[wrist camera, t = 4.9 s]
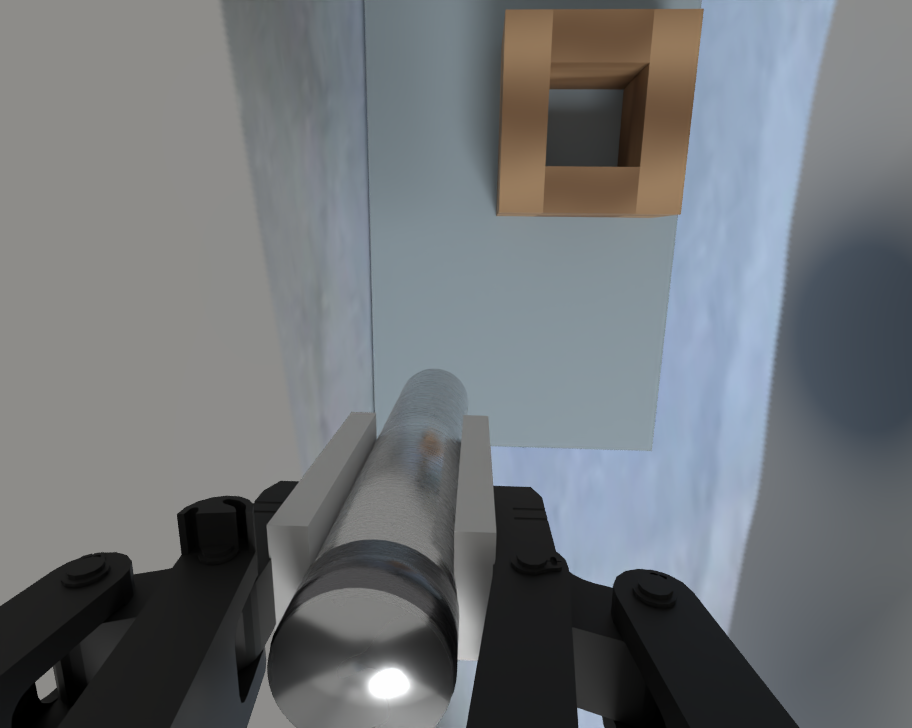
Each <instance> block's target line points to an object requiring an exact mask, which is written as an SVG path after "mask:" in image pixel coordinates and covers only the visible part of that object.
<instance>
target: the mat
mask: <svg viewBox="0 0 912 728" xmlns="http://www.w3.org/2000/svg"><path fill="white" fill-rule="evenodd" d="M364 2H365V42H366V82H367V122H368V162H369V202H370V242H371V282H372V322H373V362H374V402H375V413H376V430H377V438H378V436H379V434H380V432H381V431H382V429H383V427H384V425H385V423H386V421H387V419H388V417H389V415H390V413H391V411H392V409H393V407H394V405H395V403H396V401H397V399H398V397H399V395H400V393H401V391H402V390H403V388H404V386H405V384H406V382H407V381H408V380H409V379H410V378H411V377H412V376H413V375H415V374H416V373H418V372H420V371H422V370H426V369H442V370H445V371H448V372H450V373H452V374H453V375H455V376H456V377H457V378H458V379H459V380H460V381H461V382H462V384H463V385H464V387H465V389H466V392H467V395H468V415H479V416H488V419H489V433H490V446H502V447H535V448H569V449H602V450H635V451H652V444H653V435H654V426H655V417H656V408H657V399H658V390H659V381H660V372H661V363H662V354H663V345H664V336H665V326H666V317H667V308H668V299H669V290H670V281H671V272H672V263H673V254H674V245H675V236H676V227H677V218H678V215H671V216H663V217H655V218H613V217H531V216H496V208H497V175H498V143H499V111H500V78H501V46H502V36H503V28H504V19H505V10H523V9H701V2H702V0H364ZM623 91H624V90H608V89H549V105H548V125H547V144H546V164H545V166H582V167H617V164H618V152H619V139H620V127H621V115H622V103H623Z"/></svg>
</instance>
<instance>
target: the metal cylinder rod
mask: <svg viewBox="0 0 912 728" xmlns="http://www.w3.org/2000/svg"><path fill="white" fill-rule="evenodd" d="M463 415H468V395H467V392H466V389H465V387H464V385H463V384H462V382H461V381H460V380H459V379H458V378H457V377H456V376H455V375H453V374H452V373H450V372H448V371H445V370H442V369H426V370H422V371H420V372H418V373H416V374H415V375H413V376H412V377H411V378H410V379H409V380H408V381H407V382H406V384H405V386H404V388H403V390H402V391H401V393H400V395H399V397H398V399H397V401H396V403H395V405H394V407H393V409H392V411H391V413H390V415H389V417H388V419H387V421H386V423H385V425H384V427H383V429H382V431H381V432H380V434H379V436H378V438H377V440H376V442H375V444H374V446H373V448H372V450H371V452H370V454H369V456H368V458H367V460H366V462H365V464H364V466H363V468H362V470H361V472H360V474H359V475H358V477H357V479H356V481H355V483H354V485H353V487H352V489H351V491H350V493H349V495H348V497H347V499H346V501H345V503H344V505H343V507H342V509H341V511H340V513H339V515H338V516H337V518H336V520H335V522H334V524H333V526H332V528H331V530H330V532H329V534H328V536H327V538H326V540H325V542H324V544H323V546H322V548H321V550H320V552H319V554H318V556H317V558H316V559H315V561H314V563H313V564H312V565H311V566H310V568H309V569H308V570H307V572H306V573H305V575H304V577H303V578H302V580H301V582H300V584H299V586H298V588H297V590H296V592H295V594H294V596H293V598H292V600H291V601H290V603H289V605H288V607H287V609H286V611H285V613H284V615H283V617H282V619H281V621H280V623H279V624H278V627H277V629H276V631H275V633H274V635H273V638H272V642H271V647H270V653H269V658H268V665H267V666H268V667H267V668H268V680H269V686H270V688H271V692H272V695H273V697H274V699H275V701H276V703H277V705H278V707H279V708H280V710H281V711H282V713H283V714H284V715H285V716H286V717H287V719H289V721H290V722H291V723H292V724H293V725H294V726H295V727H297V728H434V727H435V726H436V725H437V723H438V722H439V721H440V720H441V718H442V717H443V715H444V713H445V712H446V710H447V707H448V705H449V703H450V699H451V697H452V694H453V692H454V688H455V684H456V677H457V660H458V638H459V617H460V615H459V605H458V596H457V587H456V582H455V579H454V528H455V515H456V502H457V490H458V477H459V464H460V451H461V438H462V426H463Z"/></svg>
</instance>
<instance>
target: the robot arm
mask: <svg viewBox="0 0 912 728" xmlns="http://www.w3.org/2000/svg"><path fill="white" fill-rule="evenodd" d="M376 440H377V430H376V413H363V412H351V414H350V415H349V416H348V418H347V419H346V420H345V422H344V423H343V424H342V426H341V427H340V428H339V430H338V431H337V432H336V434H335V435H334V436H333V438H332V439H331V440H330V442H329V443H328V444H327V445H326V447H325V448H324V449H323V451H322V452H321V453H320V455H319V456H318V457H317V459H316V460H315V461H314V463H313V464H312V465H311V467H310V468H309V469H308V471H307V472H306V473H305V475H304V476H303V477H302V479H301V480H300V481H299V482H298V481H297V482H296V481H280V482H278V483H276V484H274V485H273V486H271V487H269V488H267V489H266V490H264V491H263V492H262V493H261V495H260V496H259V497H258V498H257V499H256V500H255V503H253V504H252V503H251V502H250V500H248V499H245V498H242V497H239V496H238V497H237V496H221V497H213V498H209V499H205V500H202V501H198V502H196V503H194V504H192V505H190V506H187V507H185V508H184V509H183V510H182V511H181V512H179V513H178V514H177V519H178V528H179V536H180V545H181V553H182V555H181V557H180V558H179V560H178V561H177V562H176V564H175V565H174V566H173V568H171V569H166V570H160V571H153V572H147V573H140V574H134V575H133V567H132V561H131V560H130V559H129V557H128V556H127V555H124V554H120V553H117V552H113V553H104V552H103V553H102V552H101V553H95V554H93V555H92V554H89V555H85V556H82V557H81V558H79V559H76V560H73V561H71V562H68V563H66V564H64V565H62V566H61V567H59V568H57V569H55V570H53V571H52V572H50V573H49V574H47V575H46V576H44V577H43V578H41V579H40V580H38V581H37V582H36V583H34V584H33V585H31V586H30V587H28V588H27V589H26V590H24V591H22V592H21V593H19V594H18V595H16V596H15V597H13V598H12V599H10V600H9V601H7V602H6V603H4V604H3V605H2V606H0V728H247V725H248V722H249V719H250V716H251V713H252V710H253V707H254V704H255V701H256V698H257V695H258V692H259V689H260V686H261V683H262V679H263V676H264V673H265V668H266V654H265V644H266V642H267V641H268V638H269V637H270V635H271V633H272V631H273V629H274V630H275V631H276V629H277V627H278V624H279V623H280V621H281V619H282V617H283V615H284V613H285V611H286V609H287V607H288V605H289V603H290V601H291V600H292V598H293V596H294V594H295V592H296V590H297V588H298V586H299V584H300V582H301V580H302V578H303V577H304V575H305V573H306V572H307V570H308V569H309V568H310V566H311V565H312V564H313V563H314V561H315V559H316V558H317V556H318V554H319V552H320V550H321V548H322V546H323V544H324V542H325V540H326V538H327V536H328V534H329V532H330V530H331V528H332V526H333V524H334V522H335V520H336V518H337V516H338V515H339V513H340V511H341V509H342V507H343V505H344V503H345V501H346V499H347V497H348V495H349V493H350V491H351V489H352V487H353V485H354V483H355V481H356V479H357V477H358V475H359V474H360V472H361V470H362V468H363V466H364V464H365V462H366V460H367V458H368V456H369V454H370V452H371V450H372V448H373V446H374V444H375V442H376ZM454 579H455V582H456V587H457V596H458V605H459V615H460V617H459V638H458V660H470V661H478V663H477V669H476V674H475V680H474V686H473V692H472V697H471V703H470V709H469V715H468V721H467V726H466V728H578V715H577V708H580V709H583V710H586V711H589V712H592V713H595V714H598V715H601V716H602V718H603V724H604V727H605V728H799V727H798V725H797V724H796V723H795V721H794V720H793V719H792V718H791V716H790V715H789V714H788V713H787V711H786V710H785V709H784V707H783V706H782V705H781V704H780V702H779V701H778V700H777V699H776V697H775V696H774V695H773V693H772V692H771V691H770V690H769V688H768V687H767V686H766V684H765V683H764V682H763V681H762V679H761V678H760V677H759V676H758V674H757V673H756V672H755V671H754V669H753V668H752V667H751V665H750V664H749V663H748V662H747V660H746V659H745V658H744V656H743V655H742V654H741V653H740V651H739V650H738V649H737V648H736V646H735V645H734V644H733V642H732V641H731V640H730V639H729V637H728V636H727V635H726V633H725V632H724V631H723V630H722V628H721V627H720V626H719V625H718V623H717V622H716V621H715V619H714V618H713V617H712V616H711V614H710V613H709V612H708V611H707V609H706V608H705V607H704V605H703V604H702V603H701V602H700V600H699V599H698V598H697V596H696V595H695V594H694V593H693V592H692V591H691V590H690V589H689V588H688V587H687V586H686V585H685V584H684V583H683V582H681V581H679V580H677V579H675V578H673V577H672V576H670V575H667V574H665V573H662V572H658V571H654V570H644V569H635V570H629V571H625V572H623V573H622V574H620V575H618V576H617V577H616V580H615V582H614V584H613V588H611V587H607V586H603V585H599V584H595V583H592V582H589V581H586V580H583V579H581V578H579V577H577V576H575V575H573V574H572V573H570V572H569V568H568V565H567V563H566V560H565V559H564V558H563V557H562V556H561V555H560V554H559V553H558V552H556V550H555V546H554V542H553V538H552V535H551V531H550V527H549V523H548V521H547V515H546V512H545V508H544V504H543V500H542V497H541V496H540V495H539V494H538V493H537V492H536V491H534V490H533V489H532V488H531V487H511V486H493V476H492V462H491V448H490V433H489V419H488V416H479V415H463V426H462V438H461V451H460V464H459V477H458V490H457V502H456V515H455V528H454ZM52 667H53V669H54V674H55V680H56V685H57V688H56V689H55V690H54V691H52V692H51V693H50V694H49V695H48V696H47V697H45V698H43V699H42V700H40V699H39V698H38V695H37V690H36V685H35V682H36V681H37V680H38V679H39V678H40V677H41V676H42V675H44V674H45V673H46V672H47V671H48V670H49V669H50V668H52Z"/></svg>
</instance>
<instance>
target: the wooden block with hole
mask: <svg viewBox="0 0 912 728" xmlns="http://www.w3.org/2000/svg"><path fill="white" fill-rule="evenodd" d="M703 11H704V9H523V10H505V19H504V28H503V36H502V46H501V78H500V111H499V143H498V175H497V208H496V216H531V217H613V218H655V217H663V216H671V215H680V214H681V207H682V198H683V189H684V180H685V171H686V162H687V153H688V144H689V135H690V126H691V118H692V109H693V100H694V91H695V82H696V73H697V64H698V55H699V46H700V37H701V28H702V20H703ZM549 89H608V90H624V91H623V103H622V115H621V127H620V139H619V152H618V164H617V167H582V166H545V164H546V144H547V125H548V105H549Z"/></svg>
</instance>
